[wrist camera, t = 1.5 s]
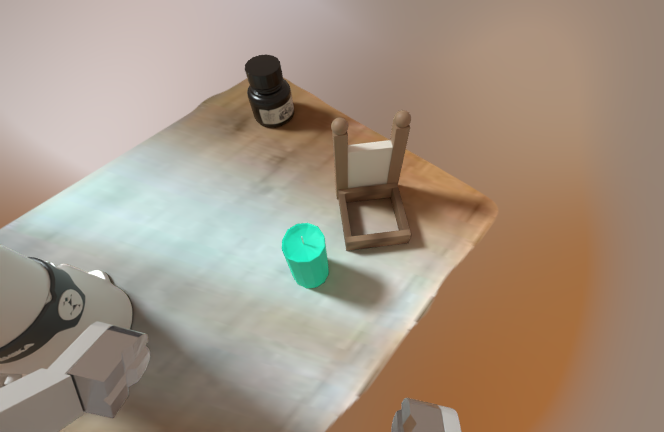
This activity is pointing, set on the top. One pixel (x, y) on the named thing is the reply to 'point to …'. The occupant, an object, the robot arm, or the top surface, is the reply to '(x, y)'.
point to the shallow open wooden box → (377, 238)
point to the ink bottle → (268, 91)
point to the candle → (306, 254)
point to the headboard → (369, 155)
